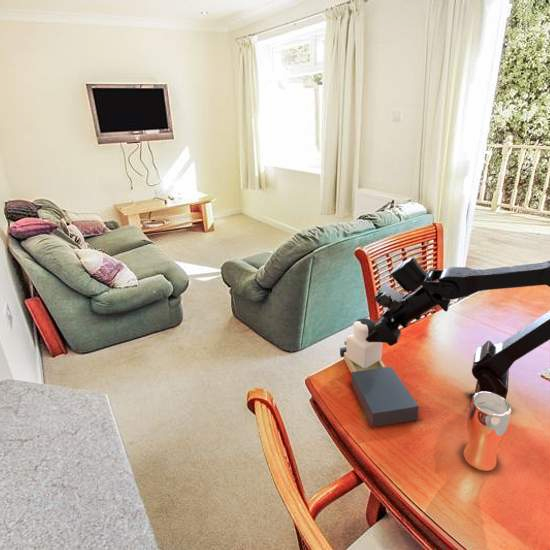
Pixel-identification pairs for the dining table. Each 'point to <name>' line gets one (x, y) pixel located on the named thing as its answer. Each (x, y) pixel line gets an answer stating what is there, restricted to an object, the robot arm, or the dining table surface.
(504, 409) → the beer glass
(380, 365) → the drawer
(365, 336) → the medicine bottle
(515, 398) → the dining table surface
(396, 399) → the cabinet
